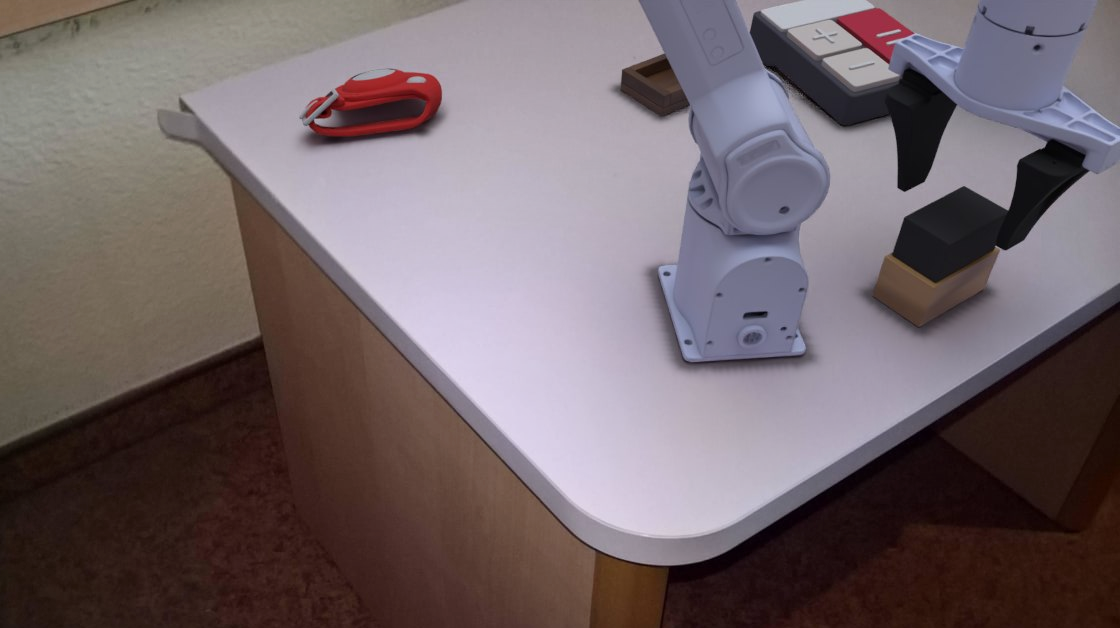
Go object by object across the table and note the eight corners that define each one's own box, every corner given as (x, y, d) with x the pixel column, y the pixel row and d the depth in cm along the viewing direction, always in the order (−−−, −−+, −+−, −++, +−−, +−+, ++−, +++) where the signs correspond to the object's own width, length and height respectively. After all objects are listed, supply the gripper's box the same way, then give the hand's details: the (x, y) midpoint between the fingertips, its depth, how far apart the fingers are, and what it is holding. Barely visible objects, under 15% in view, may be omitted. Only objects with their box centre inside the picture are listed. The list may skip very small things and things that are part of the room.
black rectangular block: (935, 283, 66) (950, 244, 64) (891, 255, 68) (903, 216, 66) (994, 250, 69) (1010, 211, 66) (949, 223, 71) (964, 185, 69)
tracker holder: (352, 64, 93) (451, 54, 89) (363, 112, 95) (460, 105, 91) (281, 100, 84) (389, 91, 80) (295, 153, 86) (400, 147, 82)
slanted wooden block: (918, 327, 68) (933, 287, 66) (871, 295, 71) (884, 256, 68) (984, 289, 71) (1000, 249, 69) (936, 259, 74) (951, 220, 71)
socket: (661, 116, 88) (664, 95, 87) (619, 89, 91) (621, 69, 90) (730, 88, 91) (733, 68, 90) (687, 63, 94) (690, 43, 93)
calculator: (854, 88, 83) (753, 4, 93) (841, 133, 87) (744, 47, 96) (963, 60, 86) (853, -19, 96) (946, 104, 89) (842, 23, 99)
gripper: (1202, 42, 54) (1099, 246, 63) (968, -50, 63) (909, 142, 72) (1123, 83, 51) (1028, 290, 61) (890, -19, 60) (839, 176, 69)
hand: (958, 212), depth 66 cm, fingers open, 7 cm apart
